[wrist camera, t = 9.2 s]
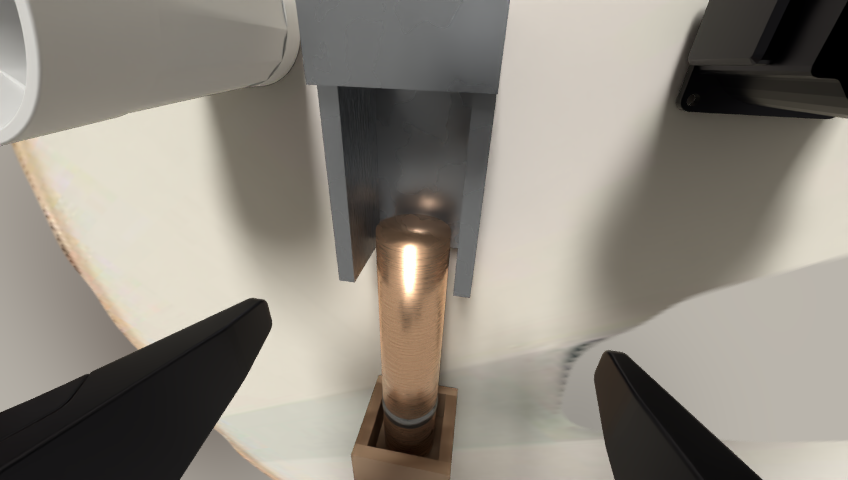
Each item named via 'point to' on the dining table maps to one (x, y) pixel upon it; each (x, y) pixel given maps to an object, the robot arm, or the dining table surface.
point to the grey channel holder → (404, 114)
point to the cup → (132, 56)
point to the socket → (398, 472)
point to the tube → (411, 325)
